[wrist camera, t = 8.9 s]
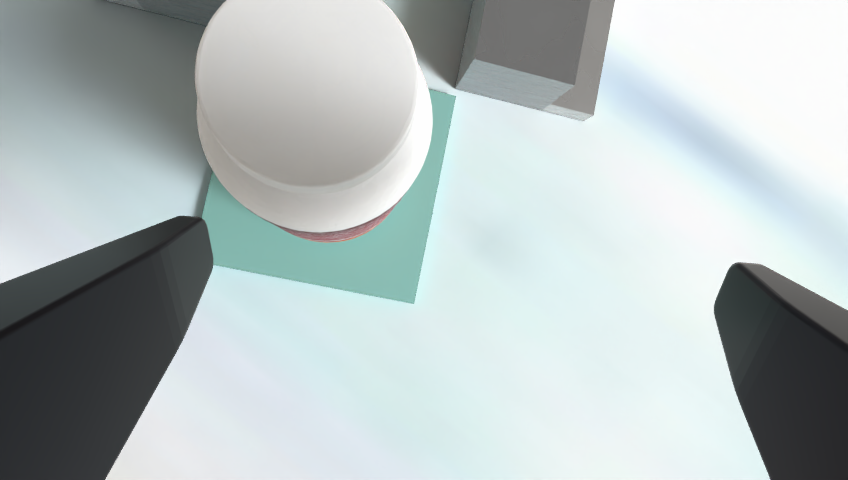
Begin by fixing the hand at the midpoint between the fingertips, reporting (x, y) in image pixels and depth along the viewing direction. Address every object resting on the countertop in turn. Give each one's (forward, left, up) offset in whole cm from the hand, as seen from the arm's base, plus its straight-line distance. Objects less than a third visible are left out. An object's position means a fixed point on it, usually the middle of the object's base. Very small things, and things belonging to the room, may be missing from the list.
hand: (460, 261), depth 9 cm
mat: (-1, +4, -14) cm, 14 cm away
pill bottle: (0, +5, -13) cm, 14 cm away
